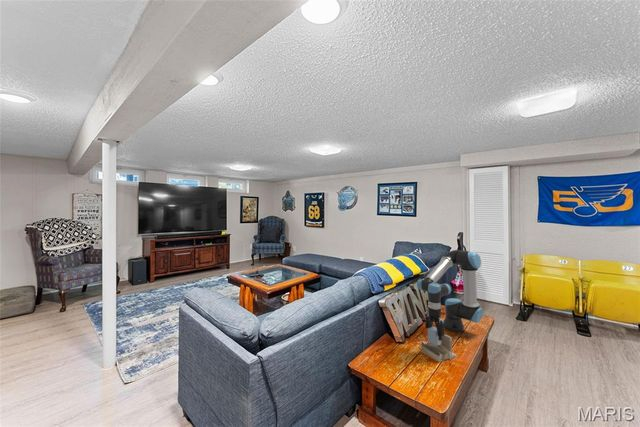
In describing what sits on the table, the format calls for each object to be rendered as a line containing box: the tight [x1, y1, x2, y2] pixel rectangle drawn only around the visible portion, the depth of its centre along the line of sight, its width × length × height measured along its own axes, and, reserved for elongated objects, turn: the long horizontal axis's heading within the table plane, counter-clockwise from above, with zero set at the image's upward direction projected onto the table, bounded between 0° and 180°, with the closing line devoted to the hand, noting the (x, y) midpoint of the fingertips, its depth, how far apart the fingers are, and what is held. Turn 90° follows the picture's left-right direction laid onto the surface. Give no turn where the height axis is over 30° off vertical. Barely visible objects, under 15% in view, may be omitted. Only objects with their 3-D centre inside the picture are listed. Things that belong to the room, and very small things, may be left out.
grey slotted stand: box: [421, 333, 458, 363], centre depth 171 cm, size 16×16×14 cm
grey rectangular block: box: [427, 326, 442, 346], centre depth 170 cm, size 6×6×9 cm
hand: (434, 342), depth 170 cm, fingers closed on grey rectangular block, 6 cm apart
